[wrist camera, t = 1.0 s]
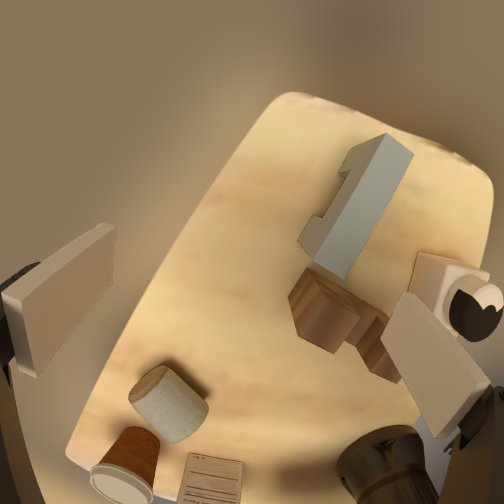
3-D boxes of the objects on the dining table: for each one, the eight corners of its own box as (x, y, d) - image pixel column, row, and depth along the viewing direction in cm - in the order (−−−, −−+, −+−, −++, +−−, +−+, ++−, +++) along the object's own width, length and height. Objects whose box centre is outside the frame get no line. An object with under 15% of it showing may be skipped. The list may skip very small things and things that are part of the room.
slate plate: (373, 163, 32) (414, 154, 22) (319, 254, 34) (343, 279, 24) (351, 148, 31) (386, 132, 22) (297, 240, 34) (312, 260, 24)
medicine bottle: (444, 311, 35) (495, 350, 23) (402, 306, 35) (450, 349, 23) (458, 260, 33) (518, 285, 22) (417, 250, 33) (475, 276, 22)
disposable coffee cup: (175, 460, 41) (159, 514, 29) (125, 454, 41) (102, 502, 29) (161, 421, 39) (138, 479, 27) (106, 415, 39) (76, 465, 28)
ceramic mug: (170, 352, 37) (151, 387, 29) (214, 394, 38) (204, 433, 30) (123, 386, 38) (101, 419, 31) (163, 423, 39) (149, 458, 32)
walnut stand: (385, 314, 35) (421, 352, 25) (367, 340, 36) (396, 383, 26) (306, 267, 34) (324, 296, 24) (287, 297, 35) (297, 336, 25)
